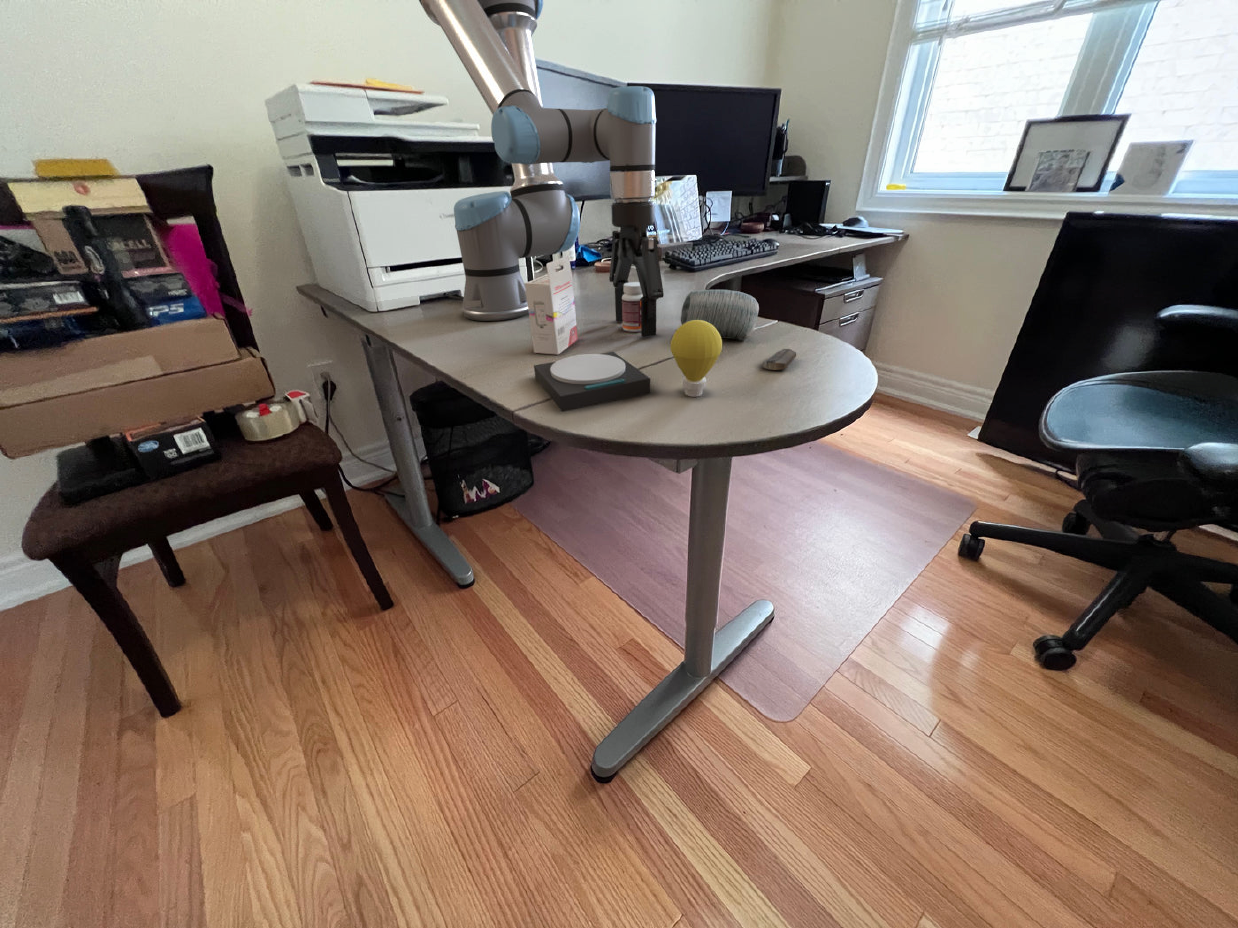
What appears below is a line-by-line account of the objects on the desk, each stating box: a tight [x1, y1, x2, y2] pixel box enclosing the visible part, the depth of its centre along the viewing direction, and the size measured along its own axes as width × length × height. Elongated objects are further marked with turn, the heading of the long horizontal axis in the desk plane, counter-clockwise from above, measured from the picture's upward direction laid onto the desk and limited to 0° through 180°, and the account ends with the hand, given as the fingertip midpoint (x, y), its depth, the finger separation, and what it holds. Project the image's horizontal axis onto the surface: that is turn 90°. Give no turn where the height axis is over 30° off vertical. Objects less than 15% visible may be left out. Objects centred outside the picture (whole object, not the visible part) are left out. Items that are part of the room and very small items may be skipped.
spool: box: [680, 289, 760, 341], centre depth 88 cm, size 14×10×10 cm
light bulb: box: [670, 320, 723, 398], centre depth 65 cm, size 7×7×10 cm
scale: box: [533, 351, 651, 412], centre depth 71 cm, size 13×13×3 cm
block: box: [762, 348, 797, 371], centre depth 76 cm, size 4×6×2 cm, turn 145°
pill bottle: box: [622, 281, 643, 333], centre depth 93 cm, size 5×5×8 cm
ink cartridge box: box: [524, 255, 578, 356], centre depth 84 cm, size 9×5×15 cm, turn 160°
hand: (635, 328), depth 95 cm, fingers open, 11 cm apart
